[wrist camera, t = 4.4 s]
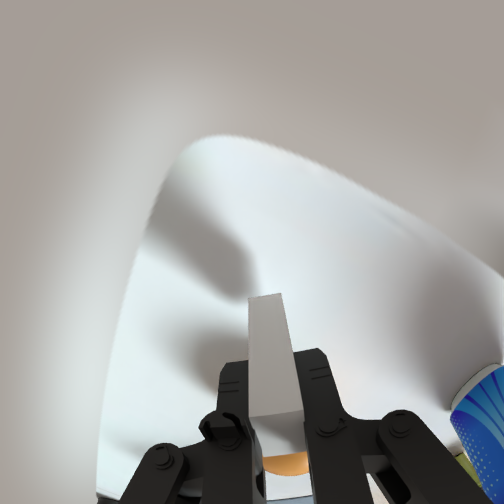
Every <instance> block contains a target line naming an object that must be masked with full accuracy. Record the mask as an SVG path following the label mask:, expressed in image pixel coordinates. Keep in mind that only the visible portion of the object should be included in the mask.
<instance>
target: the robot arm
mask: <svg viewBox="0 0 504 504" xmlns="http://www.w3.org/2000/svg"><path fill="white" fill-rule="evenodd" d="M248 328H249V360H246V361H238V362H229V363H226V364H225V366H224V367H223V369H222V371H221V372H220V379H219V388H218V398H217V408H216V411H213V412H211V413H209V414H207V415H206V416H205V417H204V418H203V419H202V420H201V422H200V425H199V427H198V428H199V430H200V431H201V433H202V435H203V436H204V438H205V440H203V441H202V442H199V443H197V444H193V445H190V446H186V447H182V448H178V447H177V446H175V445H173V444H171V443H160V444H156V445H154V446H153V447H151V448H149V450H148V451H147V452H146V453H145V455H144V457H143V458H142V460H141V462H140V464H139V466H138V468H137V469H136V471H135V473H134V475H133V477H132V479H131V480H130V482H129V484H128V486H127V488H126V489H125V491H124V493H123V495H122V497H121V499H120V500H119V502H118V501H114V500H110V499H105V498H99V499H98V503H97V504H267V501H266V480H265V470H264V466H263V459H262V454H263V457H270V456H278V455H286V454H293V453H299V452H305V451H307V457H308V467H309V473H310V479H311V486H312V493H313V500H314V504H374V502H373V498H372V494H371V490H370V487H369V483H368V479H367V476H366V473H370V475H371V476H372V478H373V479H374V481H375V482H376V484H377V486H378V487H379V489H380V490H381V492H382V493H383V495H384V496H385V498H386V499H387V501H388V502H389V504H494V503H493V502H492V501H491V500H490V499H489V497H488V496H487V495H486V494H485V493H484V491H483V490H482V489H481V488H480V487H479V486H478V484H477V483H476V482H475V481H474V480H473V479H472V477H471V476H470V475H469V474H468V473H467V472H466V470H465V469H464V468H463V467H462V466H461V465H460V463H459V462H458V461H457V460H456V459H455V458H454V456H453V455H452V454H451V453H450V452H449V451H448V450H447V448H446V447H445V446H444V445H443V444H442V443H441V442H440V440H439V439H438V438H437V437H436V436H435V435H434V434H433V432H432V431H431V430H430V429H429V428H428V427H427V426H426V424H425V423H424V422H423V421H422V420H421V419H420V418H419V417H418V416H417V415H416V414H415V413H413V412H411V411H408V410H395V411H393V412H390V413H388V414H387V415H386V416H384V417H383V418H382V420H362V419H357V418H354V417H352V416H350V415H349V414H348V413H347V412H346V411H345V410H344V408H343V406H342V404H341V400H340V397H339V394H338V391H337V387H336V384H335V381H334V378H333V376H332V372H331V369H330V365H329V362H328V359H327V356H326V355H325V354H324V353H323V352H322V351H321V350H320V349H319V348H315V349H309V350H304V351H299V352H293V350H292V345H291V340H290V335H289V330H288V325H287V320H286V315H285V310H284V305H283V300H282V295H281V293H277V294H271V295H265V296H259V297H253V298H248Z"/></svg>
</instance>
